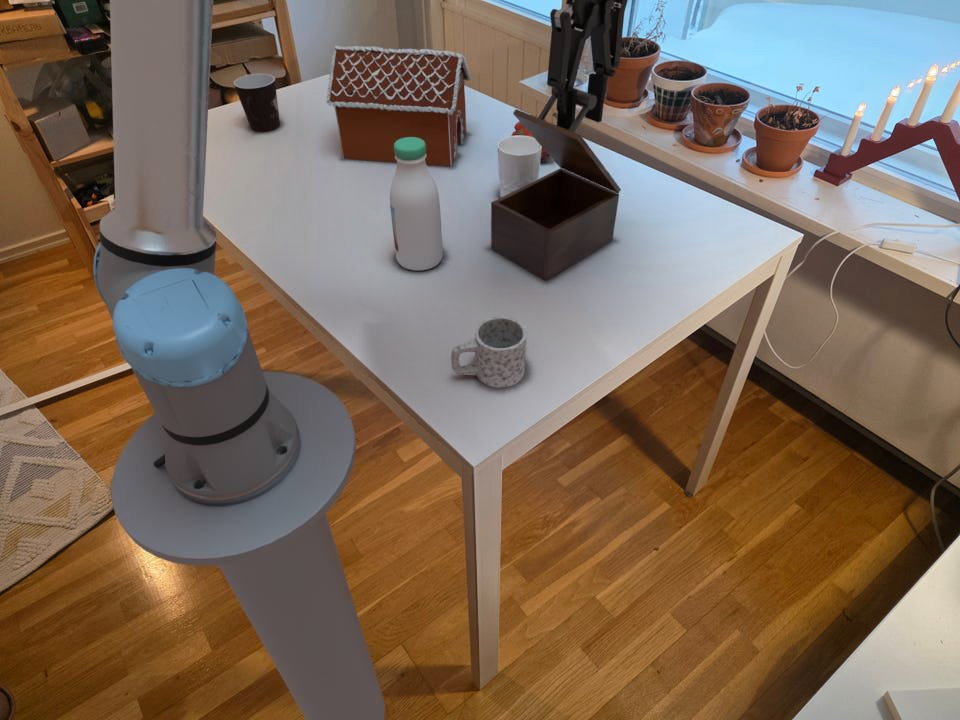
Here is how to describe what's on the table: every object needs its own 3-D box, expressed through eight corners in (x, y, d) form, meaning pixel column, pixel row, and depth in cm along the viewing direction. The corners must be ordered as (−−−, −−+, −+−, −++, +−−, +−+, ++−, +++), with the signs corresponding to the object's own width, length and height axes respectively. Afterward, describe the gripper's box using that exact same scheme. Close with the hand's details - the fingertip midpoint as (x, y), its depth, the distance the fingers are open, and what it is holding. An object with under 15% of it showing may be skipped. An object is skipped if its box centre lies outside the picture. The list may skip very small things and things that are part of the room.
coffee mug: (262, 115, 150) (252, 71, 143) (292, 122, 147) (283, 77, 140) (228, 135, 142) (215, 89, 135) (259, 142, 140) (247, 96, 133)
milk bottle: (452, 254, 108) (446, 138, 94) (424, 277, 103) (414, 159, 89) (415, 240, 111) (405, 127, 97) (386, 262, 106) (371, 146, 93)
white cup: (547, 195, 122) (551, 144, 115) (518, 211, 118) (520, 159, 111) (517, 181, 126) (518, 131, 119) (488, 195, 122) (488, 145, 115)
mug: (516, 349, 90) (517, 312, 86) (531, 382, 86) (533, 345, 81) (446, 363, 89) (444, 326, 84) (458, 397, 84) (456, 359, 79)
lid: (577, 140, 89) (606, 93, 89) (512, 113, 96) (539, 69, 95) (618, 193, 104) (643, 153, 103) (559, 167, 111) (583, 129, 110)
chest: (546, 281, 102) (549, 233, 96) (491, 249, 109) (491, 202, 103) (612, 240, 110) (619, 194, 104) (557, 213, 117) (560, 167, 111)
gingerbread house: (457, 171, 129) (453, 67, 115) (333, 161, 133) (315, 60, 119) (474, 131, 142) (472, 34, 129) (361, 124, 146) (347, 28, 132)
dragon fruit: (516, 150, 139) (553, 178, 133) (493, 137, 132) (531, 167, 126) (538, 114, 136) (577, 141, 130) (516, 99, 129) (556, 128, 123)
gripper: (569, -34, 76) (556, 153, 92) (664, -60, 85) (637, 114, 101) (523, -44, 80) (518, 137, 96) (618, -68, 89) (599, 101, 105)
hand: (579, 125), depth 98 cm, fingers open, 6 cm apart
